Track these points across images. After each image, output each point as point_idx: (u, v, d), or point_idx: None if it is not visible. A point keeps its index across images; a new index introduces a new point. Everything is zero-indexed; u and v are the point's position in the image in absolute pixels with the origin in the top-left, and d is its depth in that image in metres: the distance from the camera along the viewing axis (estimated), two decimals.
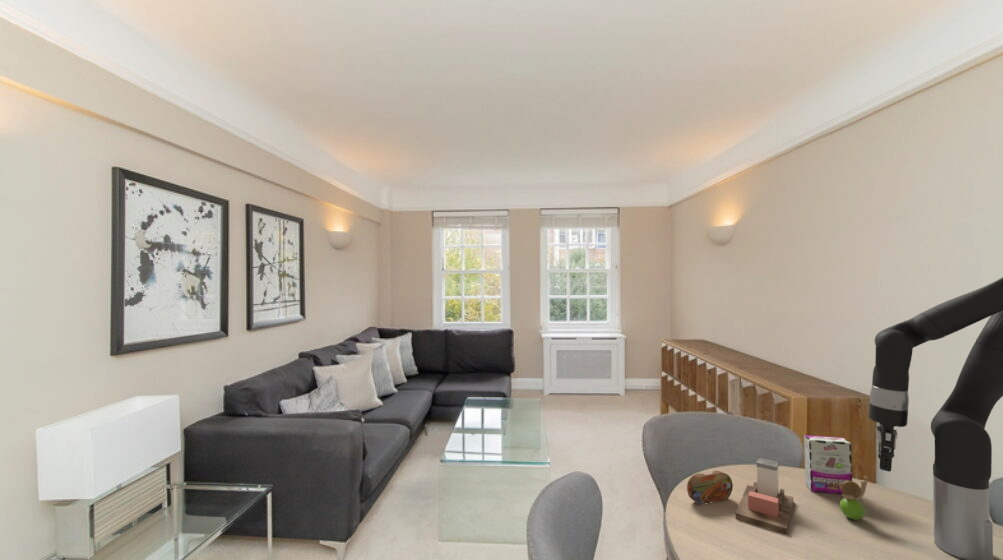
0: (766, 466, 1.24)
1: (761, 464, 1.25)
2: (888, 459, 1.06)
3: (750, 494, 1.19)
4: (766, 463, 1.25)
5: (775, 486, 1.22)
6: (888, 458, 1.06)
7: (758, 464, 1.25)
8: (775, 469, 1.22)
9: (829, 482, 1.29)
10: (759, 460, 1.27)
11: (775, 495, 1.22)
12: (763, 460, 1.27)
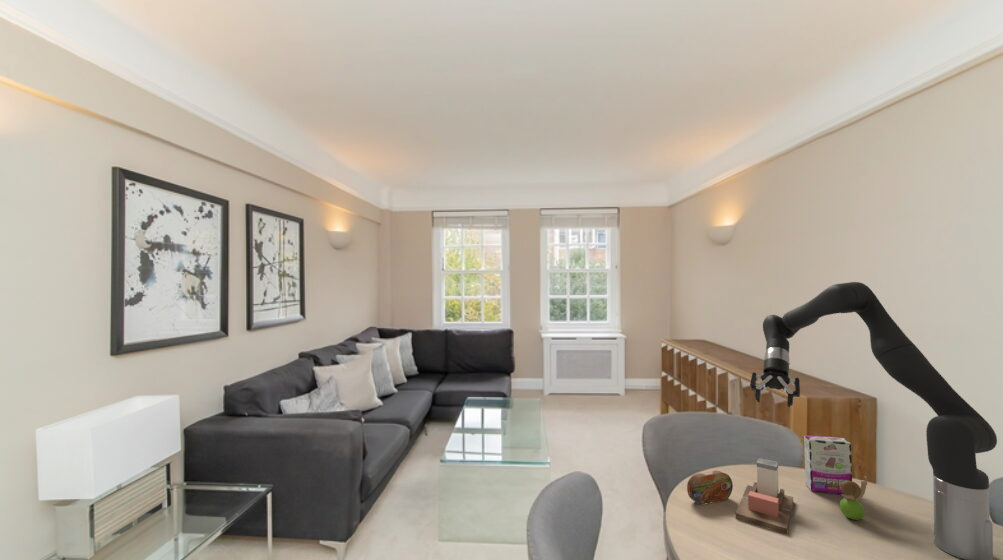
0: (766, 466, 1.24)
1: (761, 464, 1.25)
2: None
3: (750, 494, 1.19)
4: (766, 463, 1.25)
5: (775, 486, 1.22)
6: (755, 390, 1.44)
7: (758, 464, 1.25)
8: (775, 469, 1.22)
9: (829, 482, 1.29)
10: (759, 460, 1.27)
11: (775, 495, 1.22)
12: (763, 460, 1.27)
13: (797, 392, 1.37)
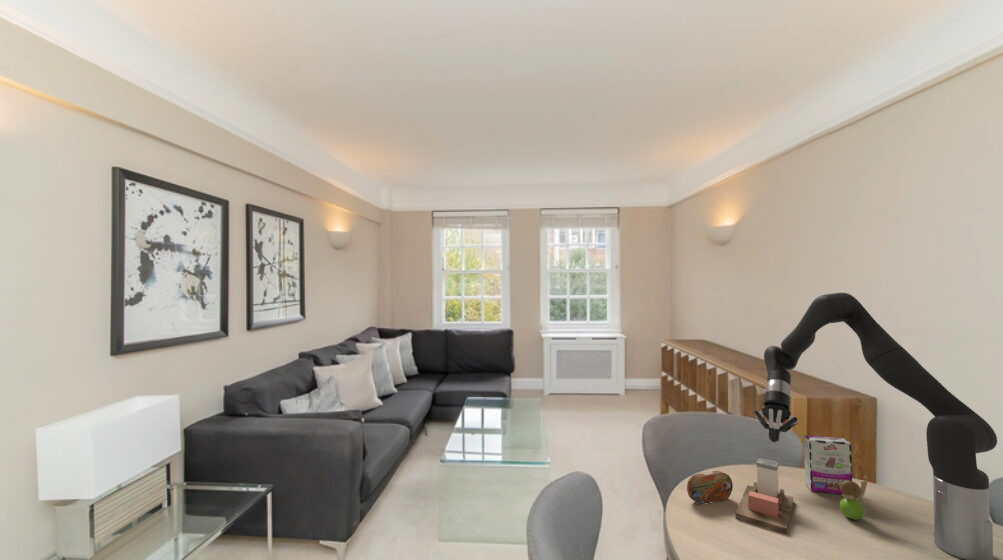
0: (766, 466, 1.24)
1: (761, 464, 1.25)
2: None
3: (750, 494, 1.19)
4: (766, 463, 1.25)
5: (775, 486, 1.22)
6: (769, 429, 1.39)
7: (758, 464, 1.25)
8: (775, 469, 1.22)
9: (829, 482, 1.29)
10: (759, 460, 1.27)
11: (775, 495, 1.22)
12: (763, 460, 1.27)
13: (783, 427, 1.37)
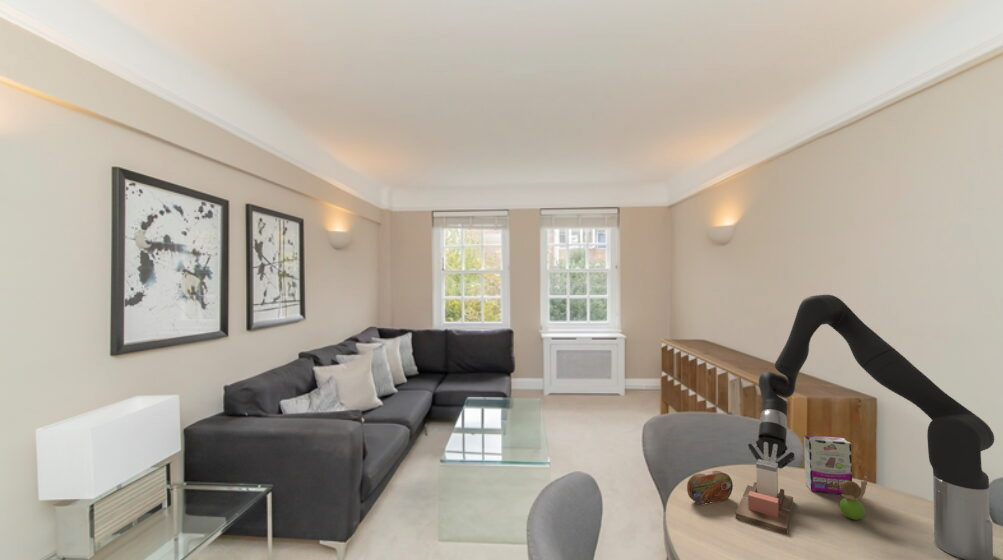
0: (766, 467, 1.23)
1: (761, 465, 1.24)
2: None
3: (750, 494, 1.19)
4: (766, 464, 1.24)
5: (775, 487, 1.22)
6: None
7: (758, 465, 1.24)
8: (775, 470, 1.22)
9: (829, 482, 1.29)
10: (759, 461, 1.26)
11: (775, 496, 1.22)
12: (763, 461, 1.26)
13: (779, 464, 1.27)
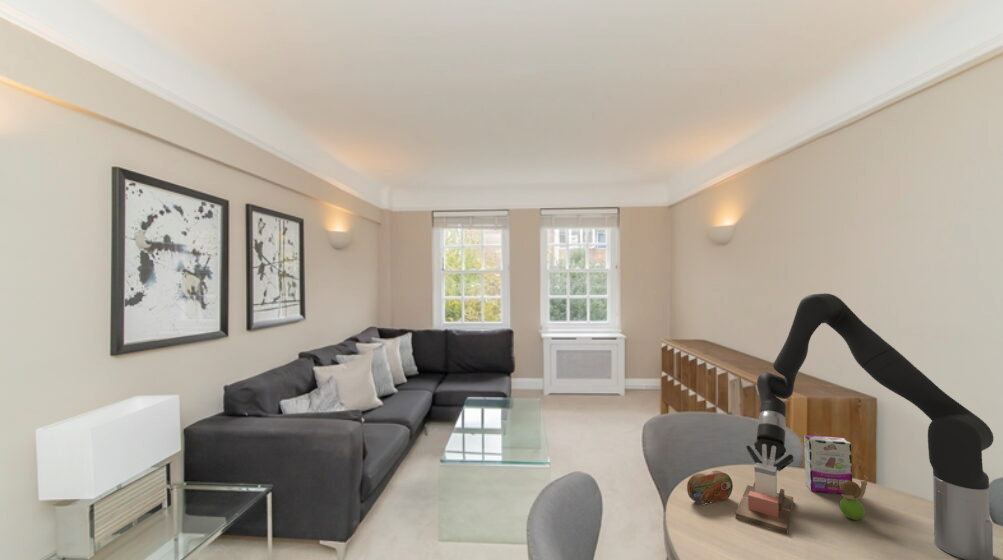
0: (764, 471, 1.21)
1: (759, 469, 1.21)
2: None
3: (750, 494, 1.19)
4: (764, 468, 1.21)
5: (773, 492, 1.19)
6: None
7: (756, 469, 1.22)
8: (773, 474, 1.19)
9: (829, 482, 1.29)
10: (757, 465, 1.24)
11: None
12: (761, 465, 1.23)
13: (778, 466, 1.25)
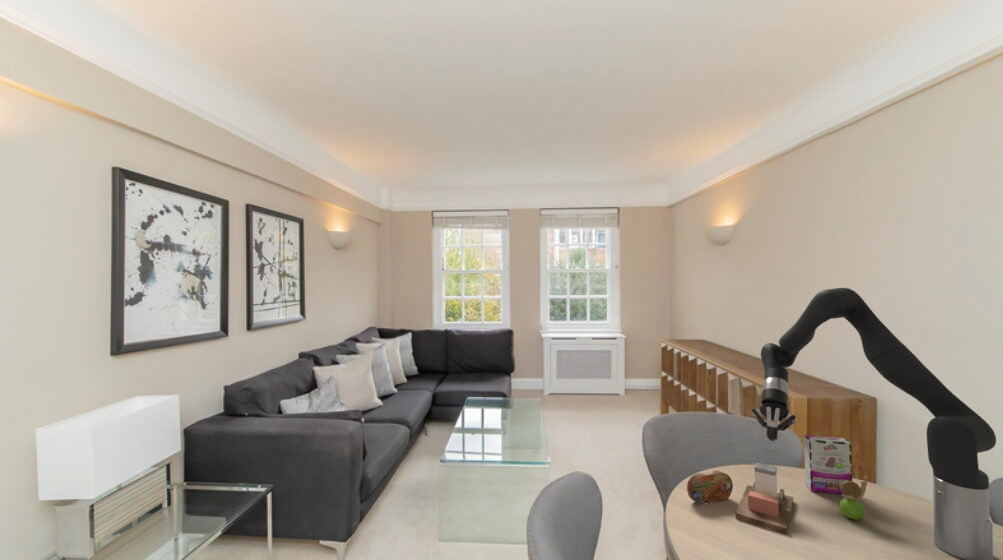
0: (764, 471, 1.21)
1: (759, 469, 1.21)
2: None
3: (750, 494, 1.19)
4: (764, 468, 1.21)
5: (773, 492, 1.19)
6: (767, 428, 1.37)
7: (756, 469, 1.22)
8: (773, 474, 1.19)
9: (829, 482, 1.29)
10: (757, 465, 1.24)
11: None
12: (761, 465, 1.23)
13: (781, 426, 1.34)
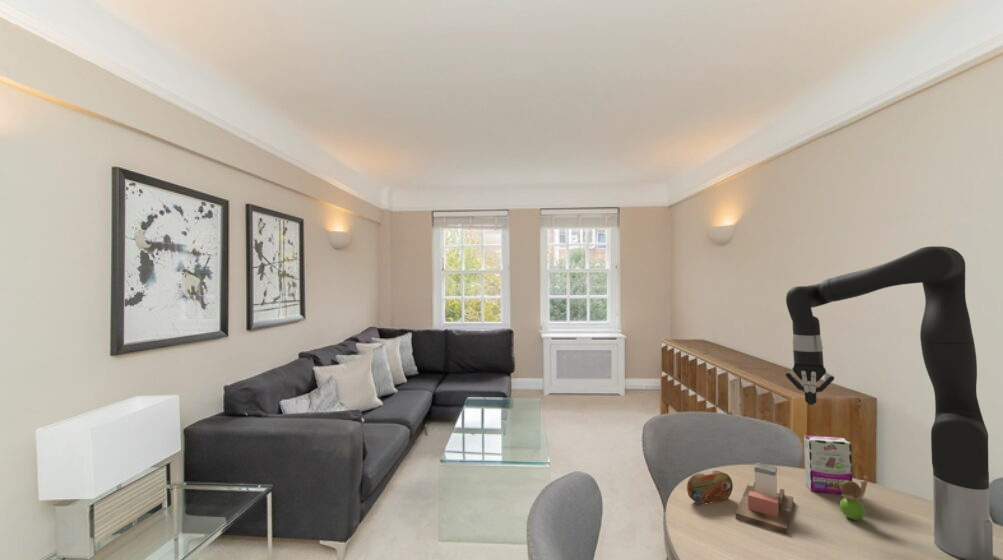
0: (764, 471, 1.21)
1: (759, 469, 1.21)
2: None
3: (750, 494, 1.19)
4: (764, 468, 1.21)
5: (773, 492, 1.19)
6: None
7: (756, 469, 1.22)
8: (773, 474, 1.19)
9: (829, 482, 1.29)
10: (757, 465, 1.24)
11: None
12: (761, 465, 1.23)
13: (820, 390, 1.28)
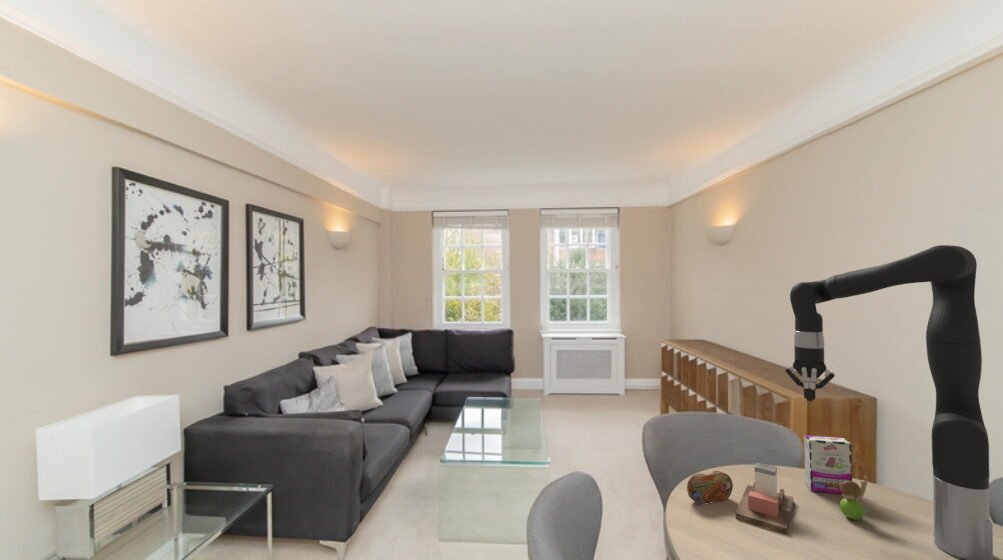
0: (764, 471, 1.21)
1: (759, 469, 1.21)
2: None
3: (750, 494, 1.19)
4: (764, 468, 1.21)
5: (773, 492, 1.19)
6: None
7: (756, 469, 1.22)
8: (773, 474, 1.19)
9: (829, 482, 1.29)
10: (757, 465, 1.24)
11: None
12: (761, 465, 1.23)
13: (819, 387, 1.27)
